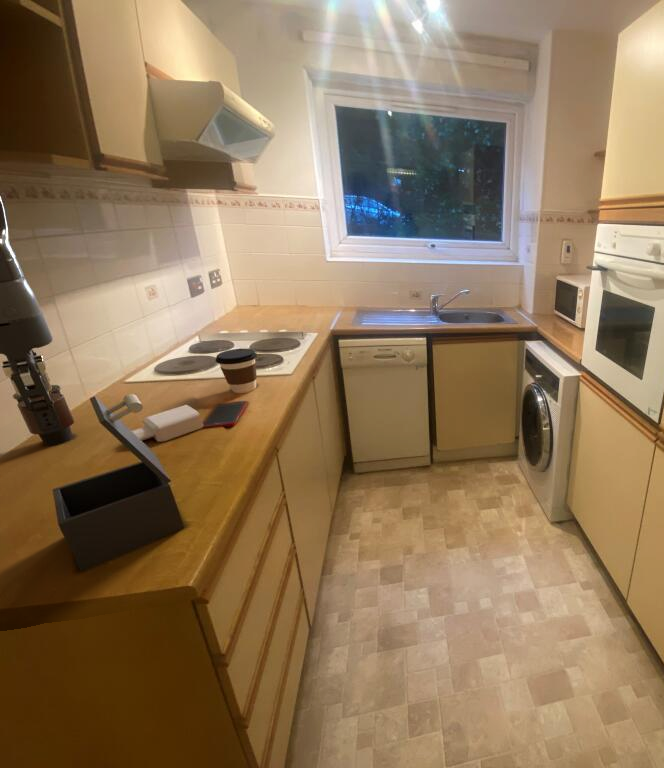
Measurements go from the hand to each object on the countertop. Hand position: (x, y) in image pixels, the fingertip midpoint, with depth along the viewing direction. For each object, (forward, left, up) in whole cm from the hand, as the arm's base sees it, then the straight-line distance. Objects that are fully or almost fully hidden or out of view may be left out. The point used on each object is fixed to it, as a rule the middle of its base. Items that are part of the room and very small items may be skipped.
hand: (51, 424), depth 65 cm
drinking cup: (-3, +52, -23) cm, 57 cm away
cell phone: (+30, +39, -23) cm, 54 cm away
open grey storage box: (+3, 0, -23) cm, 23 cm away
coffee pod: (0, 0, 0) cm, 0 cm away
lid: (+8, 0, -6) cm, 10 cm away
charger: (+16, +38, -23) cm, 47 cm away
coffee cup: (+39, +56, -23) cm, 72 cm away
